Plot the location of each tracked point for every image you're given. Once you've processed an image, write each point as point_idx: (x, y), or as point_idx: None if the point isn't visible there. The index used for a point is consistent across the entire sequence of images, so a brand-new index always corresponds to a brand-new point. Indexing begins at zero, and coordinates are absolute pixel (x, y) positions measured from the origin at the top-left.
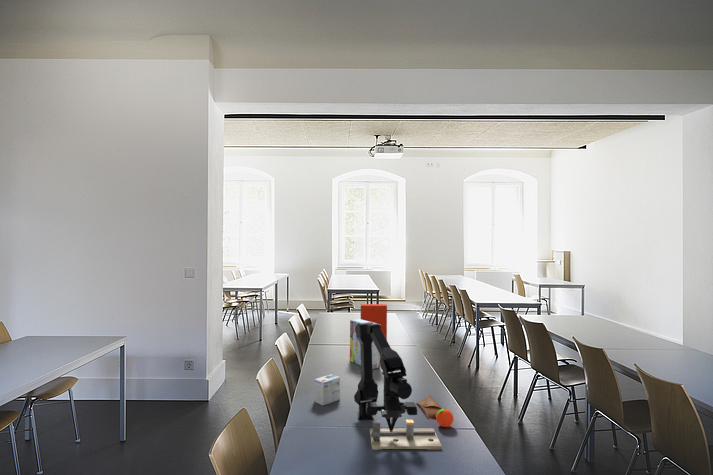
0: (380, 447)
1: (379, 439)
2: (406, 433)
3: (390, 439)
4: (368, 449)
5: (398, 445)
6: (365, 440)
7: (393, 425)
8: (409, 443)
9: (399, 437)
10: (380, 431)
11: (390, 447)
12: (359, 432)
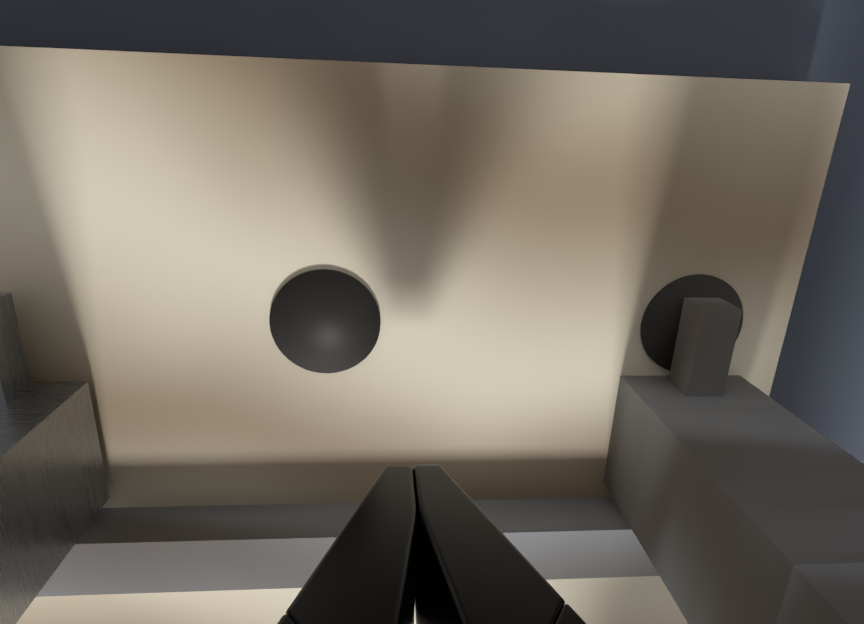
0: (670, 77)
1: (632, 356)
2: (51, 465)
3: (425, 355)
4: (855, 108)
5: (285, 100)
6: (805, 407)
7: (349, 571)
8: (28, 181)
9: (241, 426)
10: (587, 565)
11: (465, 68)
12: None
